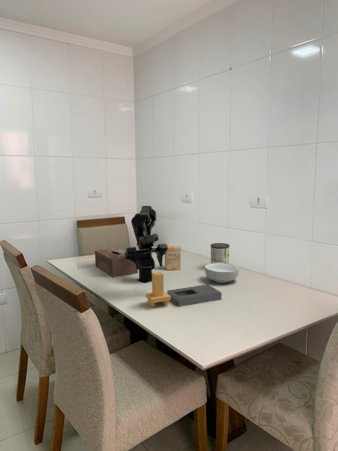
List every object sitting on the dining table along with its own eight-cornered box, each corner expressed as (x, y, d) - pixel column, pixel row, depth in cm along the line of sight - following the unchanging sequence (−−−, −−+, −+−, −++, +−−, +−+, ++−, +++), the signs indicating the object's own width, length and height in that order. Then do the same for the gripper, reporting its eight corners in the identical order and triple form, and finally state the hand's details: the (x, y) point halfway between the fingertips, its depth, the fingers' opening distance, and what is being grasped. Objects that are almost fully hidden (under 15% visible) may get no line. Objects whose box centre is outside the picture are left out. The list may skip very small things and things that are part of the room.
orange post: (145, 302, 148) (145, 272, 146) (163, 299, 151) (162, 269, 149) (152, 308, 141) (151, 277, 139) (170, 305, 144) (170, 274, 142)
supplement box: (166, 270, 196) (166, 247, 194) (164, 268, 201) (164, 245, 199) (180, 269, 198) (180, 246, 196) (178, 267, 203) (178, 244, 201)
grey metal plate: (167, 297, 154) (167, 290, 154) (207, 290, 162) (207, 284, 161) (179, 306, 143) (178, 299, 143) (221, 299, 151) (221, 292, 151)
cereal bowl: (238, 286, 167) (238, 272, 166) (203, 284, 171) (203, 270, 170) (238, 276, 184) (239, 263, 183) (206, 275, 187) (206, 262, 186)
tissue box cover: (137, 273, 191) (137, 255, 190) (113, 278, 184) (112, 259, 182) (118, 263, 213) (118, 247, 212) (95, 267, 206) (94, 250, 204)
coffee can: (210, 266, 203) (210, 242, 201) (228, 267, 202) (228, 243, 200) (210, 271, 193) (210, 246, 191) (229, 272, 192) (230, 246, 190)
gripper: (125, 229, 150) (135, 260, 142) (166, 225, 157) (177, 255, 149) (121, 243, 158) (129, 274, 150) (159, 240, 166) (169, 268, 158)
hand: (151, 267), depth 151 cm, fingers open, 9 cm apart
